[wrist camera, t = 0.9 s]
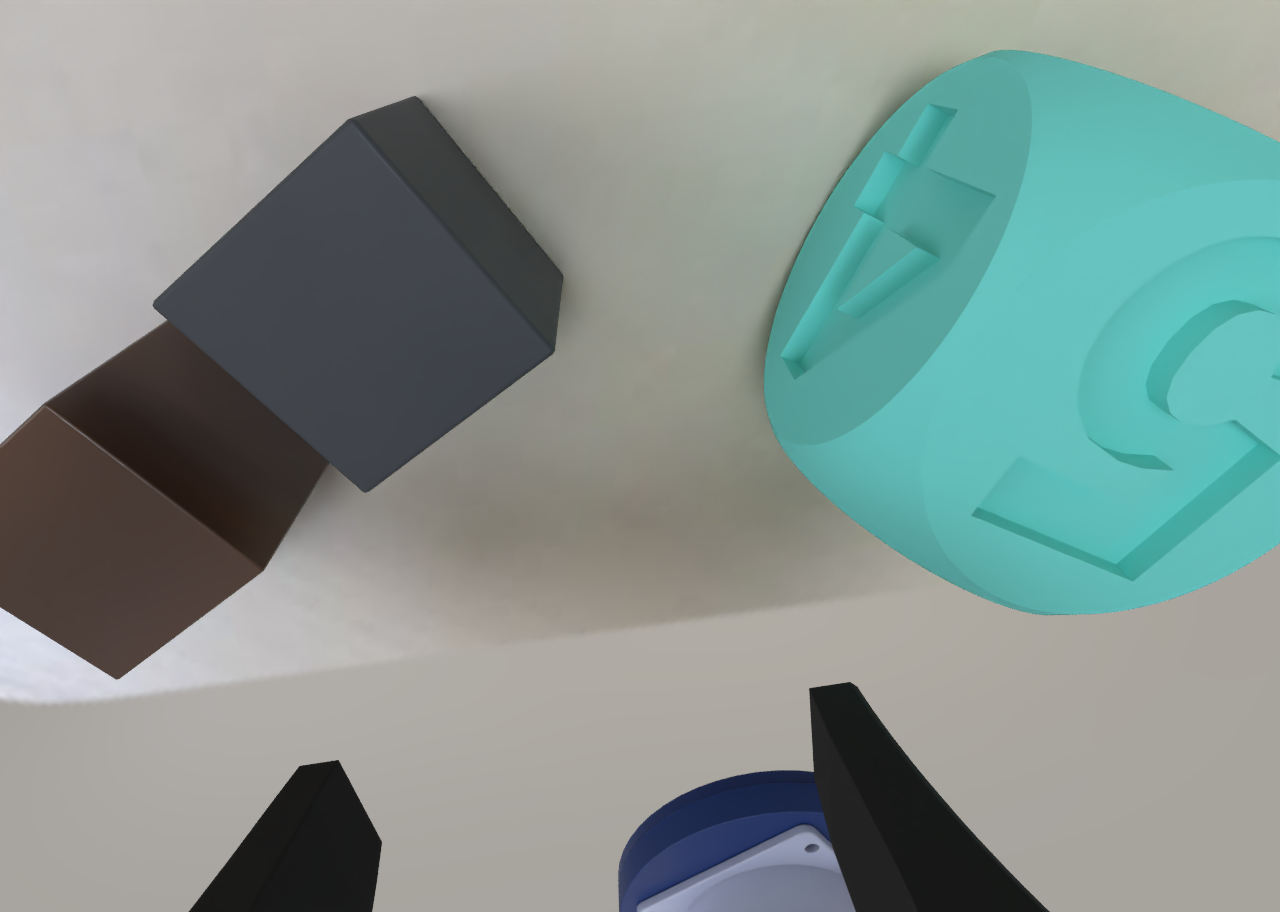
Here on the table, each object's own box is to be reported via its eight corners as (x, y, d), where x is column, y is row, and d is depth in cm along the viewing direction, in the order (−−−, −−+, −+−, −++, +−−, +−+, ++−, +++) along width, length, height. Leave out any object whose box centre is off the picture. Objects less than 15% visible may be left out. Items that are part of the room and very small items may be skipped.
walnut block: (335, 455, 20) (264, 571, 16) (213, 550, 21) (117, 681, 17) (175, 313, 18) (44, 403, 14) (51, 428, 19) (-105, 542, 15)
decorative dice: (734, 360, 19) (814, 541, 13) (912, 40, 16) (1157, 47, 9) (977, 464, 22) (1162, 671, 15) (1180, 201, 18) (1548, 306, 11)
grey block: (564, 276, 18) (556, 352, 14) (415, 392, 19) (364, 496, 15) (415, 93, 16) (350, 116, 12) (258, 237, 17) (147, 305, 13)
